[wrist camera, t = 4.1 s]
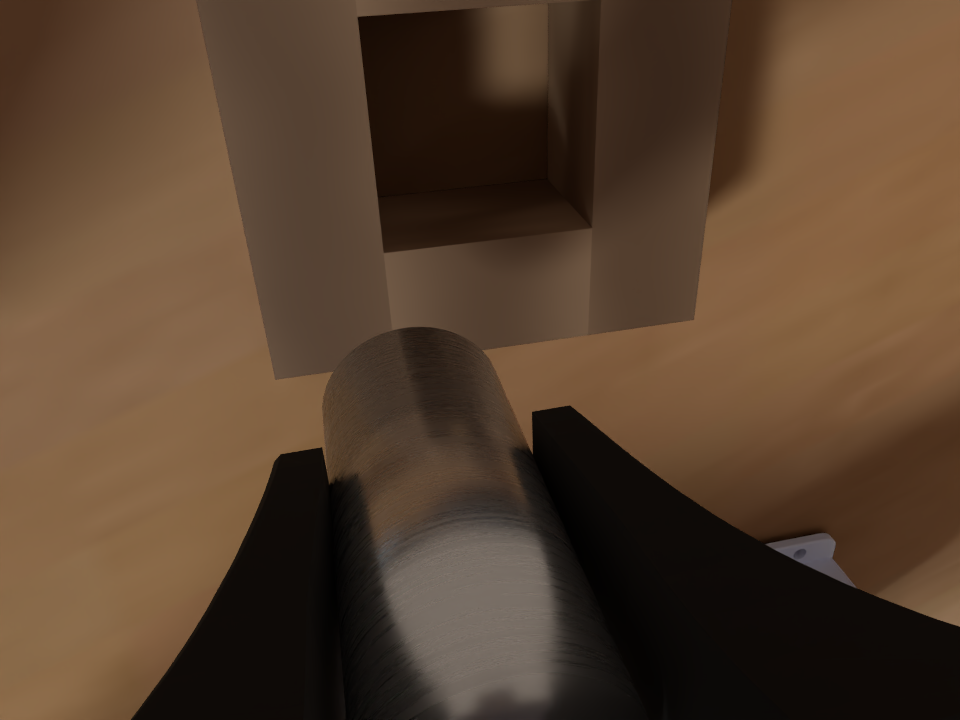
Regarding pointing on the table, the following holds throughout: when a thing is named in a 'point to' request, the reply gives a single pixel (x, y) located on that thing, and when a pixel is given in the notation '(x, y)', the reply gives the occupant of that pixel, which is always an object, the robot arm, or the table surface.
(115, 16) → the table surface
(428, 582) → the round metal peg
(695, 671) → the robot arm
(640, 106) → the square hole block
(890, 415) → the table surface
